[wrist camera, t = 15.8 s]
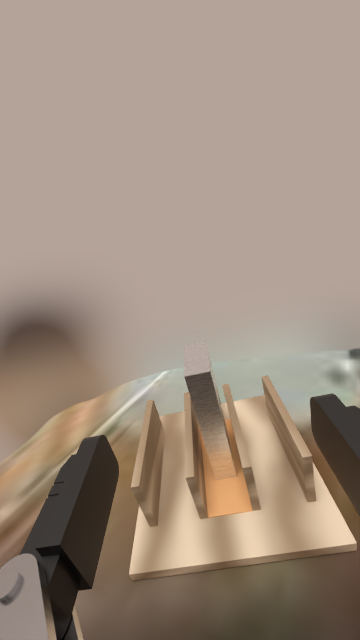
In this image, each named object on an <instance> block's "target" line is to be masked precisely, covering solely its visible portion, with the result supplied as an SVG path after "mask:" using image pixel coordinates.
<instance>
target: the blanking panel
mask: <svg viewBox="0 0 360 640" xmlns="http://www.w3.org/2000/svg"><path fill="white" fill-rule="evenodd" d="M184 377H185V380H186V383H187V387H188V390H189V393H190V397H191V400H192V403H193V407H194V410H195V414H196V417H197V420H198V424H199V427H200V430H201V434H202V437H203V440H204V444H205V447H206V450H207V454H208V457H209V460H210V464H211V467H212V470H213V474H214V477H215V480H220V479H226V478H233V477H237V475H236V470H235V465H234V460H233V455H232V450H231V445H230V440H229V434H228V430H227V426H226V422H225V418H224V414H223V410H222V406H221V402H220V398H219V394H218V390H217V386H216V382H215V378H214V374H213V370H212V366H211V362H210V358H209V354H208V350H207V346H206V342H201V343H196V344H192V345H187V346H185V375H184Z"/></svg>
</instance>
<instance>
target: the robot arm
mask: <svg viewBox="0 0 360 640" xmlns="http://www.w3.org/2000/svg"><path fill="white" fill-rule="evenodd" d="M310 407H311V426H312V432H313V436H314V438H315V441H316V443H317V445H318V447H319V449H320V450H321V452H322V454H323V455H324V457H325V459H326V460H327V462H328V464H329V465H330V467H331V469H332V470H333V472H334V474H335V475H336V477H337V479H338V480H339V482H340V484H341V485H342V487H343V489H344V490H345V492H346V494H347V495H348V497H349V499H350V500H351V502H352V504H353V505H354V507H355V509H356V511H357V512H358V514H359V516H360V409H359V408H358V407H356V406H349V407H345V405H344V404H343V403H342V402H341V401H340V400H339V398H338V397H337V396H336V395H334V394H327V395H322V396H316V397H311V399H310ZM118 476H119V466H118V462H117V459H116V457H115V455H114V453H113V451H112V448H111V446H110V444H109V442H108V440H107V438H106V436H104V435H100V436H95V437H89V438H85V439H83V441H82V442H81V445H80V447H79V449H78V451H77V454H75V455H71V457H70V458H69V459H68V460H67V462H66V463H65V464H64V465H63V466H62V468H61V469H60V471H59V474H58V476H57V478H56V480H55V482H54V486H52V488H51V490H50V492H49V495H48V498H47V499H46V501H45V503H44V505H43V507H42V509H41V511H40V513H39V516H38V518H37V520H36V522H35V524H34V526H33V528H32V530H31V532H30V535H29V537H28V539H27V541H26V543H25V545H24V547H23V549H22V551H21V553H20V554H19V555H18V556H16V557H14V558H13V559H11V560H10V561H8V562H7V563H6V564H5V565H4V566H3V567H2V568H1V569H0V640H83V636H82V632H81V628H80V623H79V619H78V615H77V611H76V608H75V606H74V604H75V601H76V597H77V593H78V591H79V590H87V589H92V586H93V582H94V578H95V573H96V569H97V565H98V561H99V557H100V552H101V548H102V544H103V540H104V536H105V531H106V527H107V523H108V519H109V515H110V511H111V506H112V502H113V498H114V494H115V490H116V485H117V481H118Z"/></svg>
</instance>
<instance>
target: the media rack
mask: <svg viewBox="0 0 360 640" xmlns="http://www.w3.org/2000/svg"><path fill="white" fill-rule="evenodd" d="M262 382H263V388H264V394H265V395H263V396H258V397H253V398H248V399H243V400H238V401H233V399H232V395H231V392H230V388H229V385H228V384H226V385H222V386H223V390H224V394H225V398H226V403H224V404H221V406H222V410H223V414H224V418H225V422H226V426H227V430H228V434H229V440H230V445H231V450H232V455H233V460H234V465H235V470H236V475H237V477H233V478H226V479H220V480H215V477H214V474H213V470H212V467H211V464H210V460H209V457H208V454H207V450H206V447H205V444H204V440H203V437H202V434H201V430H200V427H199V424H198V420H197V417H196V414H195V410H194V407H193V403H192V400H191V397H190V393H189V392H187V393H184V405H185V411H184V412H179V413H174V414H169V415H164V416H159V414H158V412H157V409H156V406H155V404H154V401H153V400H149V401H147V406H146V411H145V416H144V421H143V427H142V432H141V437H140V442H139V447H138V453H137V458H136V463H135V468H134V473H133V478H132V484H131V489H132V491H133V493H134V495H135V497H136V499H137V502H138V504H139V511H138V518H137V524H136V531H135V537H134V544H133V551H132V557H131V564H130V571H129V576H130V577H131V579H132V581H134V580H141V579H149V578H156V577H164V576H171V575H179V574H186V573H193V572H201V571H208V570H216V569H223V568H231V567H238V566H245V565H253V564H260V563H268V562H275V561H282V560H290V559H297V558H305V557H312V556H320V555H327V554H334V553H342V552H349V551H357V543H356V541H355V539H354V537H353V535H352V533H351V532H350V530H349V528H348V526H347V524H346V522H345V520H344V519H343V517H342V515H341V513H340V511H339V509H338V508H337V506H336V504H335V502H334V500H333V498H332V496H331V495H330V493H329V491H328V489H327V487H326V485H325V484H324V482H323V480H322V478H321V476H320V474H319V472H318V471H317V469H316V467H315V465H314V463H313V460H312V455H311V453H310V451H309V449H308V448H307V446H306V444H305V442H304V440H303V439H302V437H301V435H300V433H299V431H298V430H297V428H296V426H295V424H294V422H293V421H292V419H291V417H290V415H289V413H288V411H287V410H286V408H285V406H284V404H283V402H282V401H281V399H280V397H279V395H278V393H277V392H276V390H275V388H274V386H273V384H272V383H271V381H270V379H269V377H268V376H264V377H262Z"/></svg>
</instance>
